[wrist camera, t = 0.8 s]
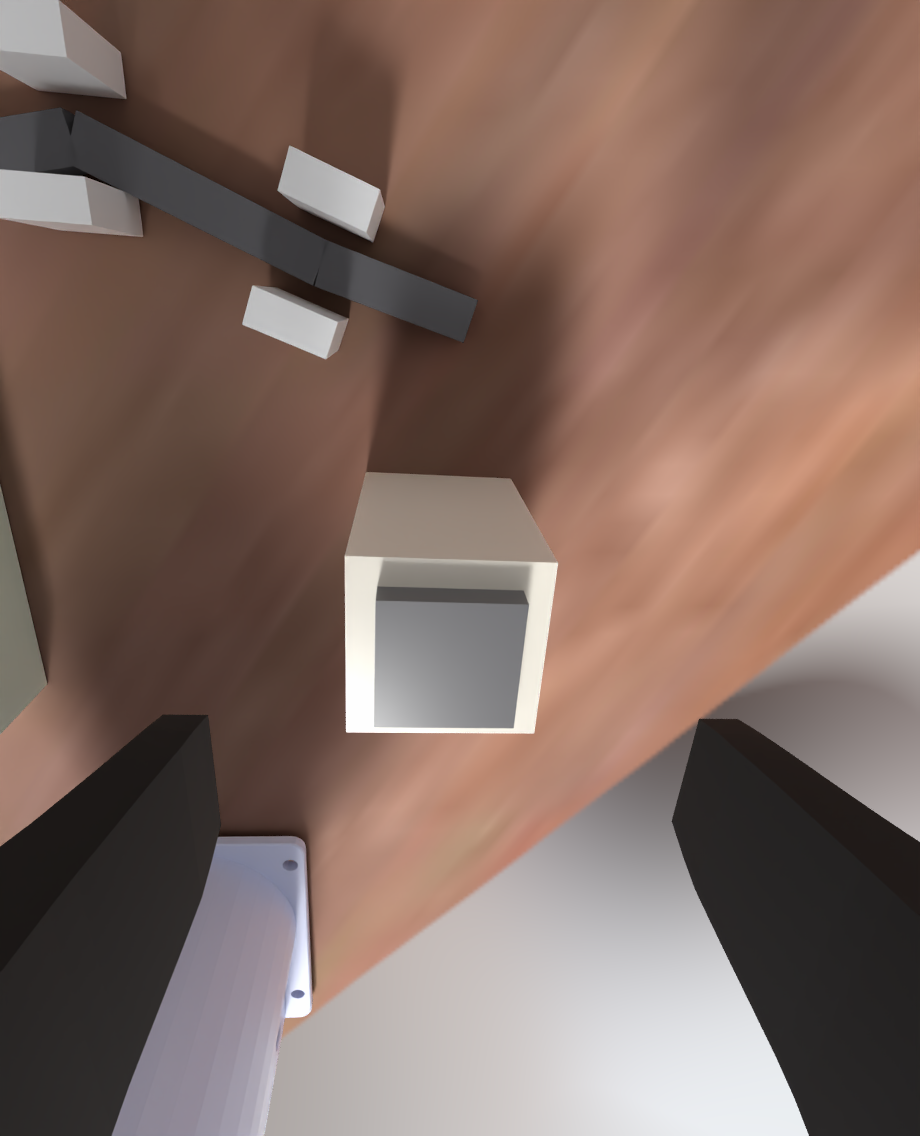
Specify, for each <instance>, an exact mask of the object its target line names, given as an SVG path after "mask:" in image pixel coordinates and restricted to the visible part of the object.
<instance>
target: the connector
mask: <svg viewBox="0 0 920 1136" xmlns="http://www.w3.org/2000/svg"><path fill="white" fill-rule="evenodd" d="M557 567H558V562H557V560H556V558H555V556H554V555H553V553H552V551H551V549H550V548H549V546H548V544H547V542H546V540H545V539H544V537H543V535H542V533H541V531H540V530H539V528H538V526H537V524H536V523H535V521H534V519H533V517H532V515H531V514H530V512H529V510H528V508H527V506H526V505H525V503H524V501H523V499H522V498H521V496H520V494H519V492H518V490H517V489H516V487H515V485H514V483H513V481H512V480H511V479H510V478H488V477H466V476H444V475H422V474H400V473H379V472H366V474H365V478H364V482H363V486H362V490H361V494H360V498H359V501H358V505H357V509H356V513H355V517H354V521H353V525H352V529H351V533H350V537H349V541H348V545H347V549H346V553H345V651H346V732H377V733H534V730H535V723H536V716H537V709H538V702H539V695H540V688H541V681H542V673H543V666H544V659H545V652H546V645H547V638H548V631H549V624H550V617H551V610H552V602H553V595H554V588H555V581H556V574H557Z"/></svg>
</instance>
